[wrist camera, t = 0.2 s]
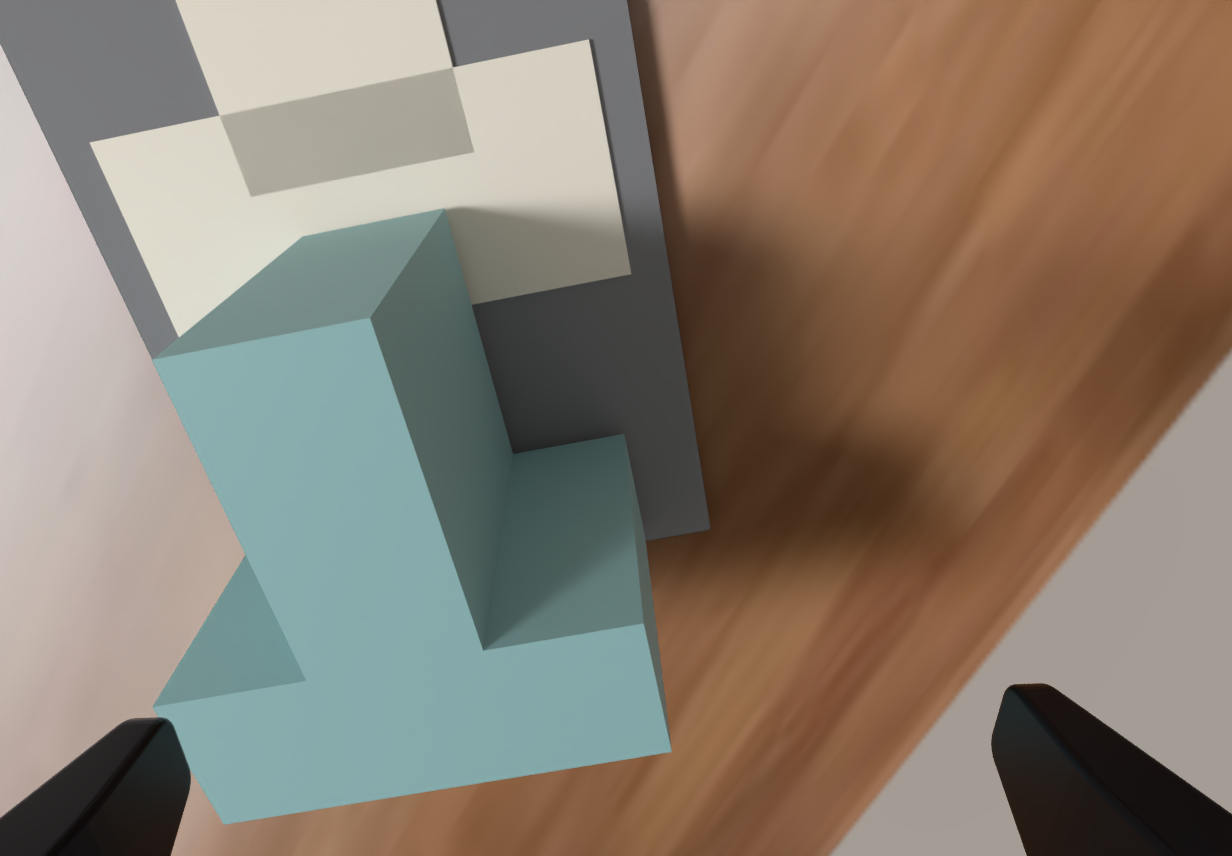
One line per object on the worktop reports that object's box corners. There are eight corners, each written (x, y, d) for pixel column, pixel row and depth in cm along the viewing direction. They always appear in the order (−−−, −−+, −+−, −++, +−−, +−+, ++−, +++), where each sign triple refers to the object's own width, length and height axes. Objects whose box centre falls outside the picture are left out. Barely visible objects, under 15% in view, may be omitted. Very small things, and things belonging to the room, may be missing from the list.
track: (708, 520, 26) (726, 591, 22) (276, 596, 26) (235, 675, 23) (557, -429, 16) (551, -540, 12) (-134, -267, 16) (-302, -333, 13)
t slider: (645, 537, 25) (671, 751, 18) (324, 594, 25) (224, 824, 18) (573, 182, 20) (568, 279, 13) (178, 260, 20) (-38, 396, 13)
